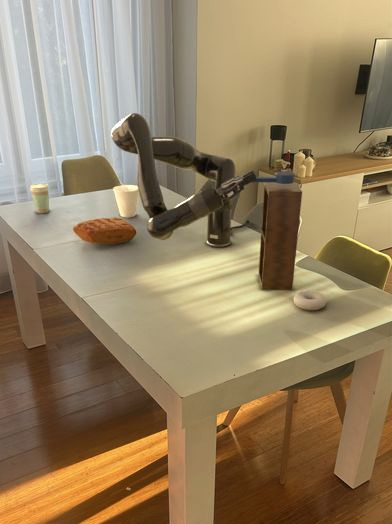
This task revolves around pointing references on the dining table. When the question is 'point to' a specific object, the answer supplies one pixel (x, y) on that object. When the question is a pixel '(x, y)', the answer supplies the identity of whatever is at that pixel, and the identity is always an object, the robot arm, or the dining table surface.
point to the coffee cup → (40, 197)
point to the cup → (127, 199)
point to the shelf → (279, 235)
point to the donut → (309, 300)
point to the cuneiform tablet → (105, 231)
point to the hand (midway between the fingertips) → (254, 174)
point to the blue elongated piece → (277, 178)
